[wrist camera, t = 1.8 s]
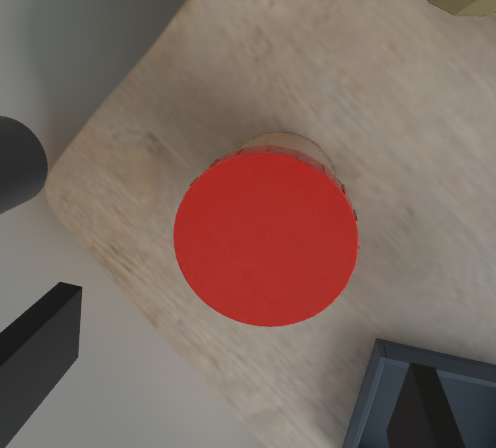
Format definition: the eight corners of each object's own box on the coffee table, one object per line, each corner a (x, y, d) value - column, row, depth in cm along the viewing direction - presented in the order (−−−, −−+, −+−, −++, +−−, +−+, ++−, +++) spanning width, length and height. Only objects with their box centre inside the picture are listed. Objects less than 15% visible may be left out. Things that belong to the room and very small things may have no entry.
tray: (340, 452, 42) (342, 474, 40) (376, 338, 38) (380, 356, 36) (476, 484, 42) (486, 510, 39) (528, 372, 37) (542, 393, 35)
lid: (174, 287, 29) (163, 305, 27) (196, 128, 25) (185, 134, 23) (333, 323, 28) (334, 344, 26) (376, 164, 25) (381, 174, 23)
